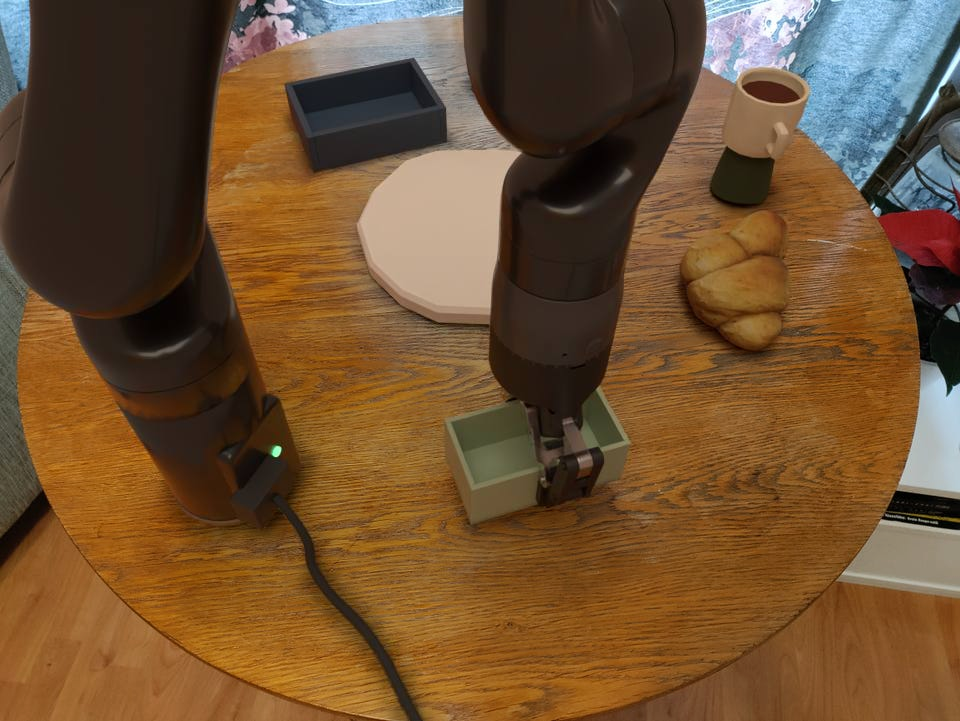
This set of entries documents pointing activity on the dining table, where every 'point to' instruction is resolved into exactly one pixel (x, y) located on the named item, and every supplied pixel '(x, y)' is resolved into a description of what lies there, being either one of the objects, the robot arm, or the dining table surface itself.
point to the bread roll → (741, 279)
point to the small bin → (519, 455)
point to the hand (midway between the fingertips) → (533, 462)
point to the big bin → (366, 113)
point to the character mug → (757, 132)
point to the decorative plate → (438, 232)
